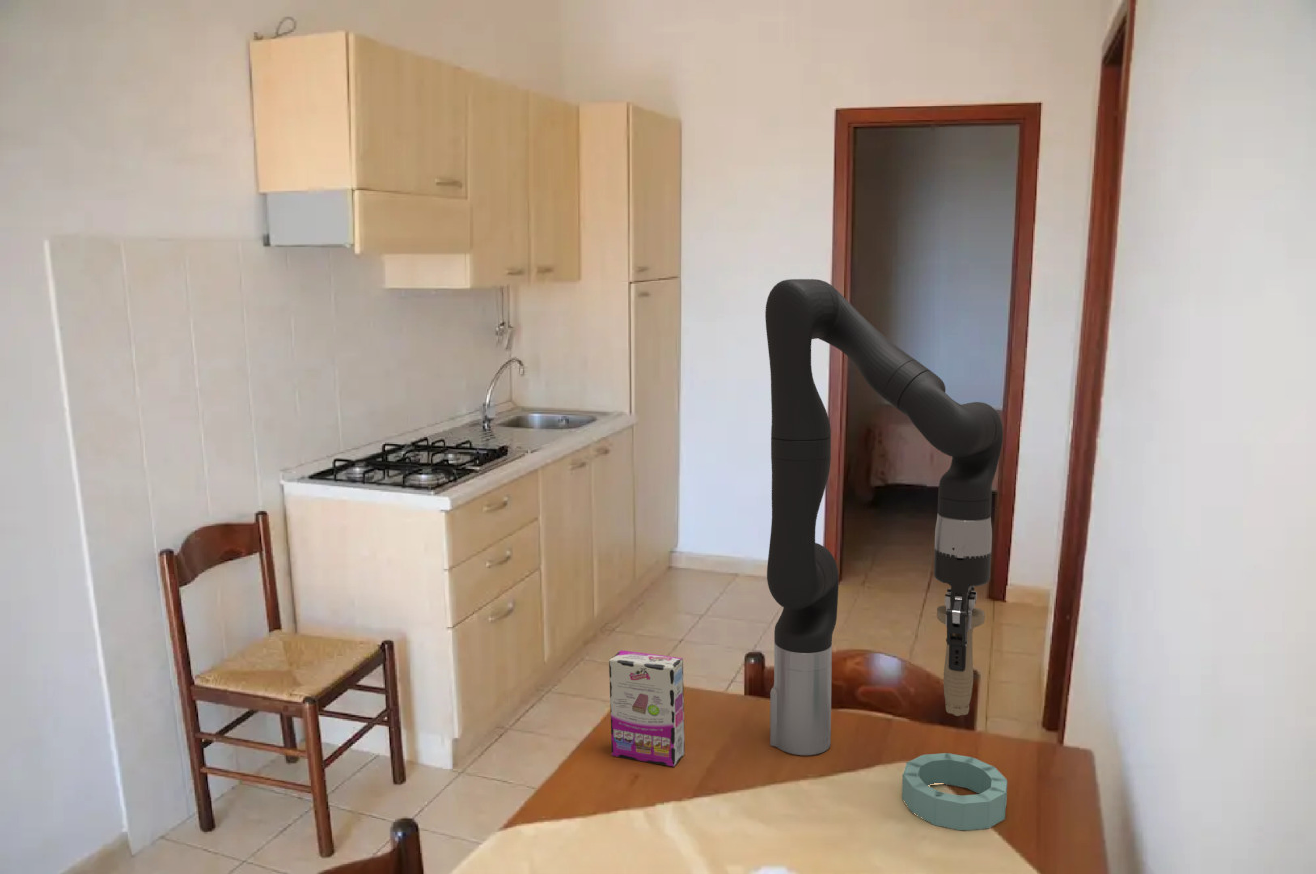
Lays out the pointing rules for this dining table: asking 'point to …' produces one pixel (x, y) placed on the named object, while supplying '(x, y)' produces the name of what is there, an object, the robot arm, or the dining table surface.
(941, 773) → the notched ring
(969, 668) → the handle
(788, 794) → the dining table surface
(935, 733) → the dining table surface
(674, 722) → the candy bar box
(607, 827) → the dining table surface
